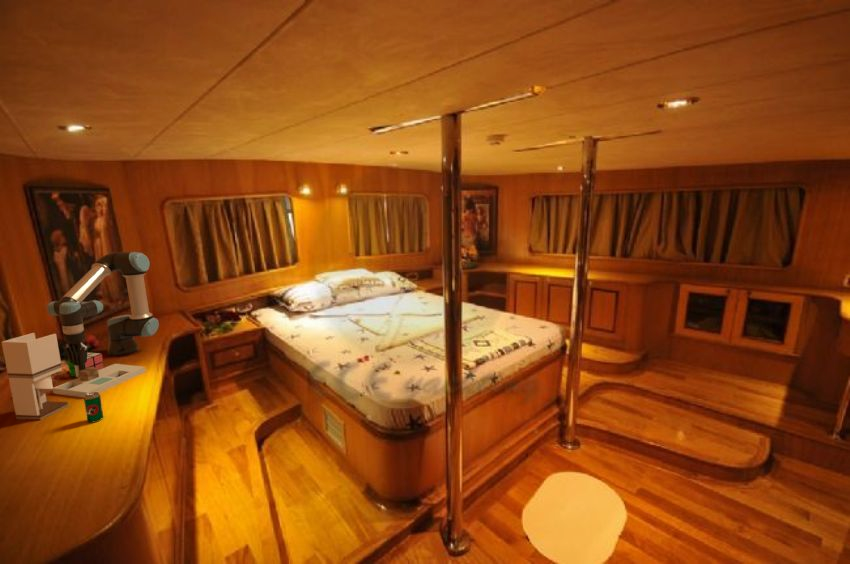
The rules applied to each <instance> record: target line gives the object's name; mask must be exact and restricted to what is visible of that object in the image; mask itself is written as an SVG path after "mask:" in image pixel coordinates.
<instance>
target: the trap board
mask: <svg viewBox="0 0 850 564" xmlns="http://www.w3.org/2000/svg"><path fill="white" fill-rule="evenodd" d="M98 373H99V377H98V378H95V379H93V380H90V381H83V380H80V377H76V378H74V379H72V380H69V381H66V382H65V383H62V384H60V385H57V386H53V390H52V392H53V394H54V395H60V396H61V395H62V396H69V397H76V398H83V399H84V398H85V395H87V394H89V393H92V392H98V393H99V394H100V393H102V392H104V391H107V390H109V389H111V388H113V387H116V386H118V385H120V384H122V383H124V382H127V381H128V380H131V379H134V378H135V377H137V376H140V375H142V374H144V373H146V367H145V366H140V365H131V364H123V363H113V364H110V365H108V366H105V367H104V368H103V369H100V370H98Z"/></svg>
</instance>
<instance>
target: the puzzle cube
mask: <svg viewBox="0 0 850 564" xmlns="http://www.w3.org/2000/svg"><path fill="white" fill-rule="evenodd" d="M67 364H68V368H69V369H68V371H69V370H70V371H71V376H70V377H76V372H75V367H74V365H73V363H70V361H69V359H68V358H67ZM83 366H84V369H86V368H89V367H93V368H98V370H100V369H103V368H105V367H104V359H103V354H102V353H99V352H98V353H97V352H88V351H87V362H86V363H84V364H83ZM70 371H69V372H70Z"/></svg>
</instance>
